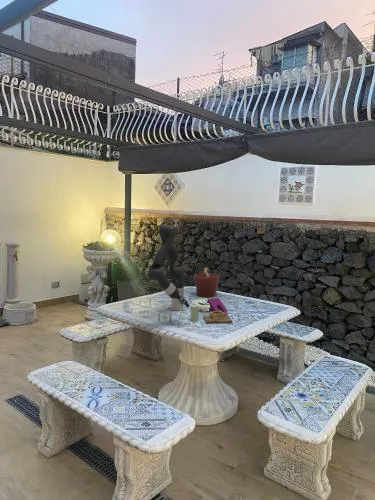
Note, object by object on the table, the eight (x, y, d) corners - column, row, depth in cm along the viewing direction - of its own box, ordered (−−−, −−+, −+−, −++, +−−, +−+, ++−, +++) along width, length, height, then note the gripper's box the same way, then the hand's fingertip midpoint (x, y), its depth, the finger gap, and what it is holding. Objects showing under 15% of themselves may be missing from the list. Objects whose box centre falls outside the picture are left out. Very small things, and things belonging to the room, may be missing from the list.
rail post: (190, 319, 262) (190, 305, 260) (195, 318, 263) (195, 305, 262) (193, 321, 258) (193, 307, 257) (198, 320, 260) (198, 306, 259)
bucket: (213, 299, 318) (214, 271, 315) (189, 297, 326) (189, 269, 323) (221, 293, 341) (221, 266, 338) (198, 291, 349) (198, 265, 346)
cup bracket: (202, 317, 266) (203, 310, 266) (227, 317, 269) (227, 309, 268) (206, 323, 253) (206, 315, 252) (232, 323, 255) (232, 315, 254)
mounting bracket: (226, 321, 278) (216, 306, 291) (229, 313, 273) (218, 297, 287) (215, 323, 274) (205, 307, 287) (218, 314, 269) (207, 298, 283)
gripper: (179, 288, 244) (194, 303, 251) (170, 284, 257) (184, 298, 264) (171, 296, 243) (187, 312, 249) (163, 292, 255) (177, 306, 262)
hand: (185, 305), depth 256 cm, fingers open, 8 cm apart
